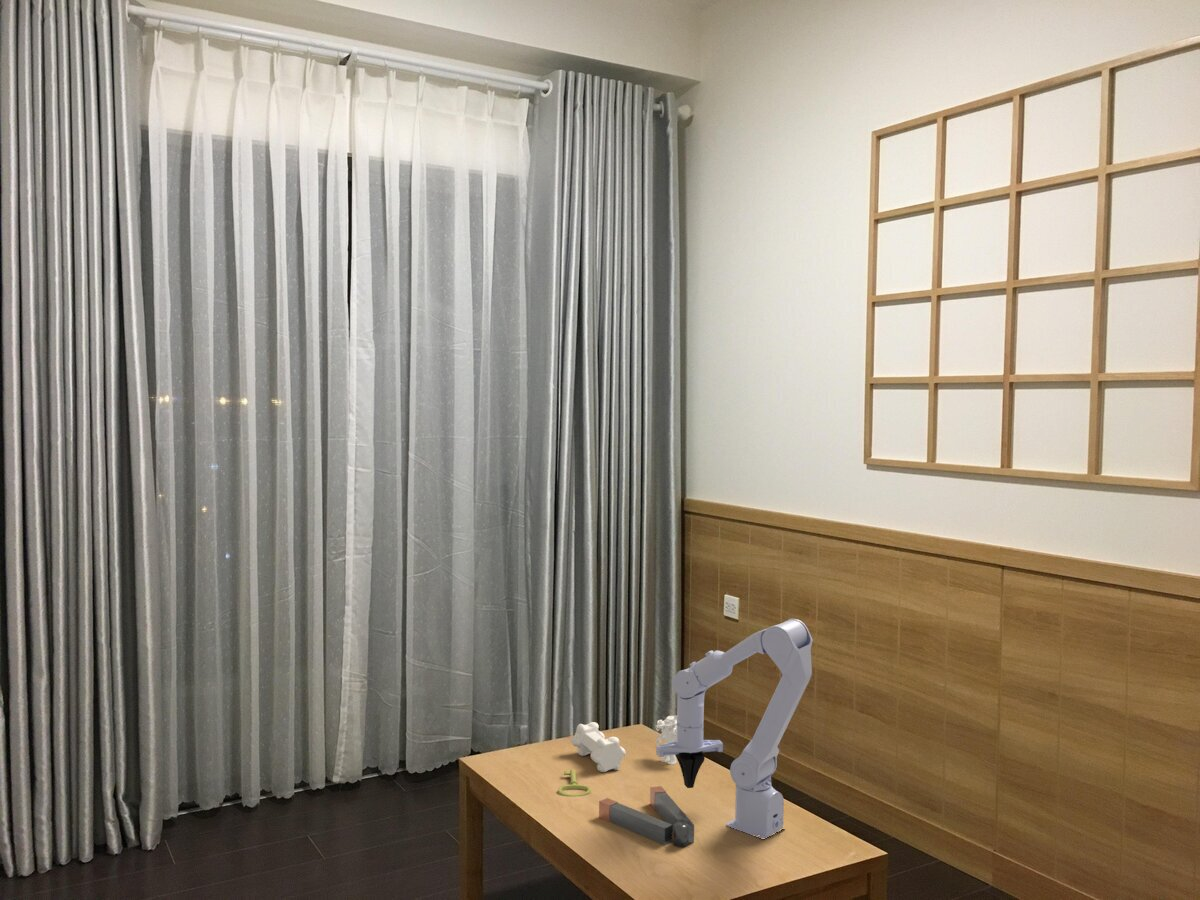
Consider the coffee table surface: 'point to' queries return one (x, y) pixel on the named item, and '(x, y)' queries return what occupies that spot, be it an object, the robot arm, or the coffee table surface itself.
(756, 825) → the robot arm
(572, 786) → the key
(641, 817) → the tongs fixed arm
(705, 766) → the coffee table surface
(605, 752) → the bone shaped toy
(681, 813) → the bar
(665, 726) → the flower shoulder figurine
